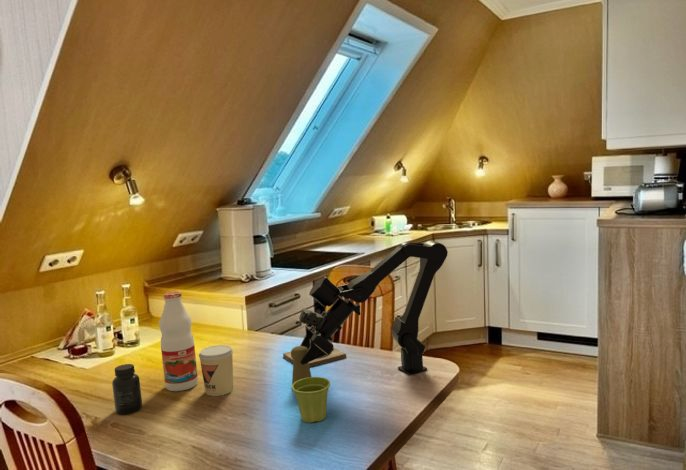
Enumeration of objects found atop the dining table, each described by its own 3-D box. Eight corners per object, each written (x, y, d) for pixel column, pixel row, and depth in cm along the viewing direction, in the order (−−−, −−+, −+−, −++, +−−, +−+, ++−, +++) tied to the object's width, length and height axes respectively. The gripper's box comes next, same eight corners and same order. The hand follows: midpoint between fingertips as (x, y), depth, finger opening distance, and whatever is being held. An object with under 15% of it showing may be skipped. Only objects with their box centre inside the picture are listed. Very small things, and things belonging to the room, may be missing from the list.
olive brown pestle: (314, 379, 161) (311, 343, 159) (311, 388, 155) (308, 350, 153) (294, 380, 161) (291, 344, 160) (290, 388, 155) (287, 351, 154)
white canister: (196, 392, 157) (192, 351, 156) (223, 381, 164) (219, 342, 162) (215, 400, 151) (210, 358, 149) (242, 388, 157) (239, 348, 156)
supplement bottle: (122, 404, 152) (117, 363, 150) (146, 403, 151) (141, 361, 150) (111, 416, 145) (105, 372, 143) (136, 414, 145) (131, 371, 143)
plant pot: (318, 429, 130) (315, 394, 129) (286, 422, 135) (284, 388, 134) (339, 413, 138) (337, 380, 137) (309, 406, 143) (306, 374, 142)
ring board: (346, 357, 178) (345, 350, 177) (301, 369, 170) (301, 361, 170) (326, 346, 190) (325, 339, 190) (283, 356, 182) (282, 349, 182)
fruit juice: (195, 377, 169) (186, 287, 166) (201, 387, 161) (191, 293, 157) (163, 383, 165) (153, 292, 162) (167, 394, 157) (157, 298, 153)
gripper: (311, 292, 165) (276, 331, 165) (318, 307, 147) (280, 351, 146) (338, 314, 167) (304, 354, 167) (349, 332, 149) (311, 376, 148)
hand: (299, 358), depth 157 cm, fingers open, 9 cm apart
